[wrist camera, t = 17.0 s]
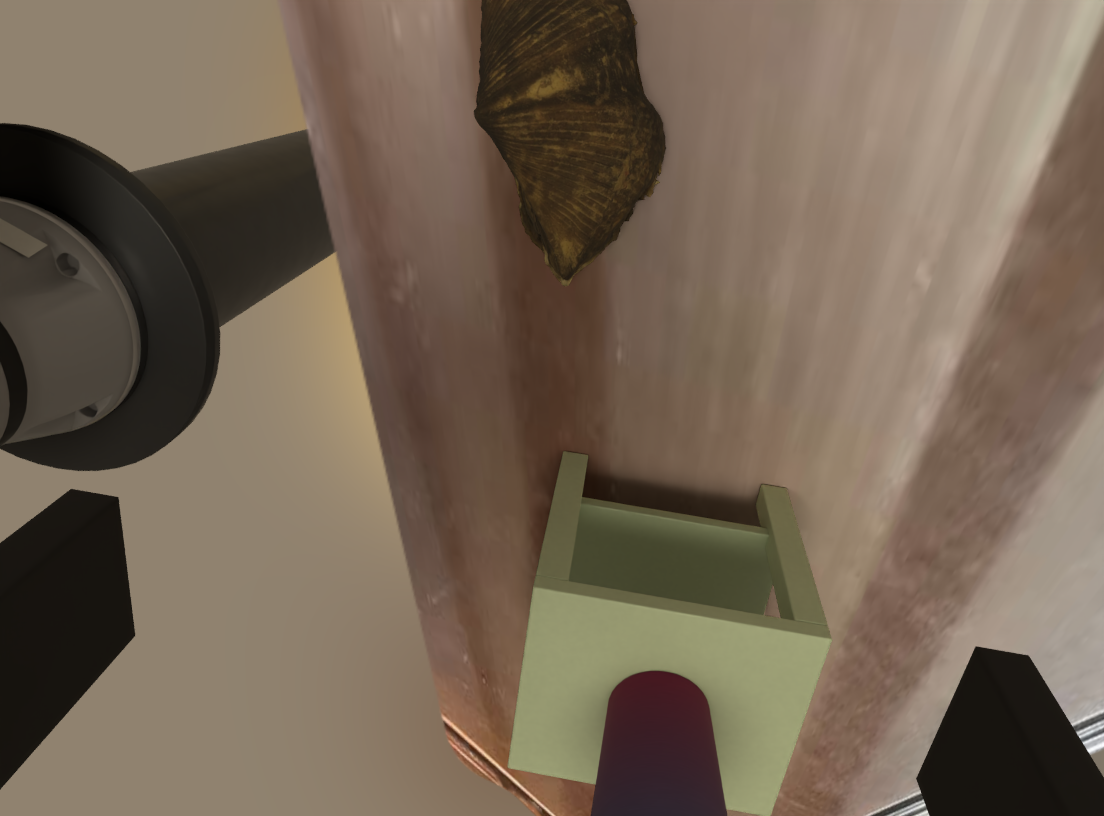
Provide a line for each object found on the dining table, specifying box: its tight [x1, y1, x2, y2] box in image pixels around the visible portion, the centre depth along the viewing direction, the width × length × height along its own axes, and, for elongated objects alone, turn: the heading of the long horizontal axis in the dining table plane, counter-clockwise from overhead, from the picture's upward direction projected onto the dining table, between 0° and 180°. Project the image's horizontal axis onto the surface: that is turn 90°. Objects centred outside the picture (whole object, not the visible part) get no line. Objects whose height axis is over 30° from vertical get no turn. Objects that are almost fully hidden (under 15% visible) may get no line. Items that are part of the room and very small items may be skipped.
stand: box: [508, 451, 832, 816], centre depth 46 cm, size 14×12×14 cm
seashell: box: [474, 0, 666, 286], centre depth 39 cm, size 16×9×7 cm, turn 14°
